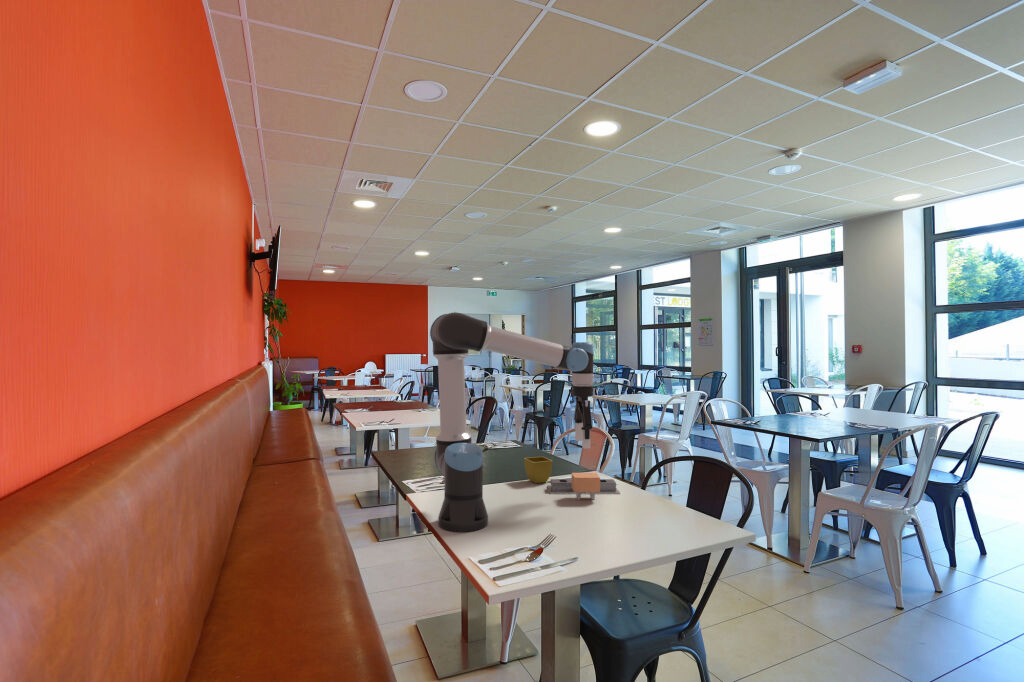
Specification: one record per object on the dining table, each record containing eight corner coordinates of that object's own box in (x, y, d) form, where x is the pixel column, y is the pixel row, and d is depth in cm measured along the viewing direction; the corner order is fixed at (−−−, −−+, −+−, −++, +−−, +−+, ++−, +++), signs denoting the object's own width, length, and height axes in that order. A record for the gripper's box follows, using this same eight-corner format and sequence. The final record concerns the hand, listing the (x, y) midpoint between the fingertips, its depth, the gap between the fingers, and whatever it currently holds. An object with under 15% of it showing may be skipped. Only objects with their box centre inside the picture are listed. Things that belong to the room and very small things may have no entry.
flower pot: (523, 480, 209) (523, 457, 209) (542, 477, 213) (542, 456, 213) (533, 485, 201) (533, 462, 201) (552, 483, 205) (553, 460, 205)
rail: (620, 493, 191) (620, 484, 191) (550, 493, 190) (550, 484, 190) (613, 486, 201) (614, 477, 201) (547, 486, 200) (547, 477, 200)
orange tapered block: (596, 495, 188) (596, 472, 189) (600, 501, 181) (600, 477, 182) (571, 495, 188) (571, 472, 188) (574, 501, 181) (574, 477, 181)
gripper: (601, 388, 173) (601, 451, 173) (586, 382, 198) (586, 437, 198) (578, 388, 173) (578, 451, 173) (566, 382, 198) (566, 438, 198)
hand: (582, 444), depth 186 cm, fingers open, 13 cm apart
